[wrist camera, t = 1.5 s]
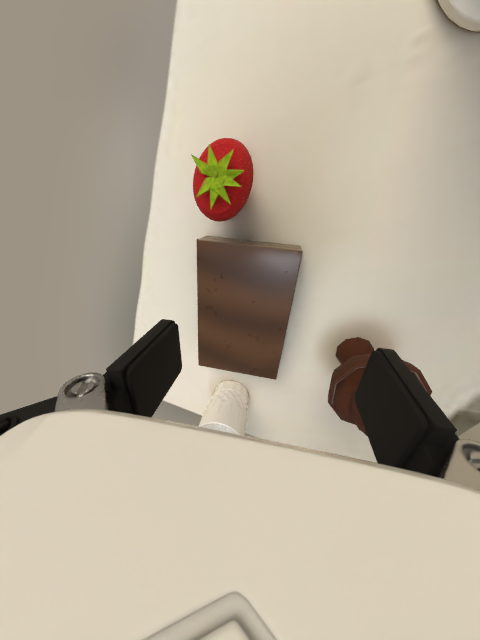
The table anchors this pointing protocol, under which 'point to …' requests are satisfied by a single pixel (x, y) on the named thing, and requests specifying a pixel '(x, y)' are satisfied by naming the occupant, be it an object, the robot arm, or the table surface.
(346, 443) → the table surface
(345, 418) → the ice cream bowl
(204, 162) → the strawberry
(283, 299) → the panel
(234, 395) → the white cup
